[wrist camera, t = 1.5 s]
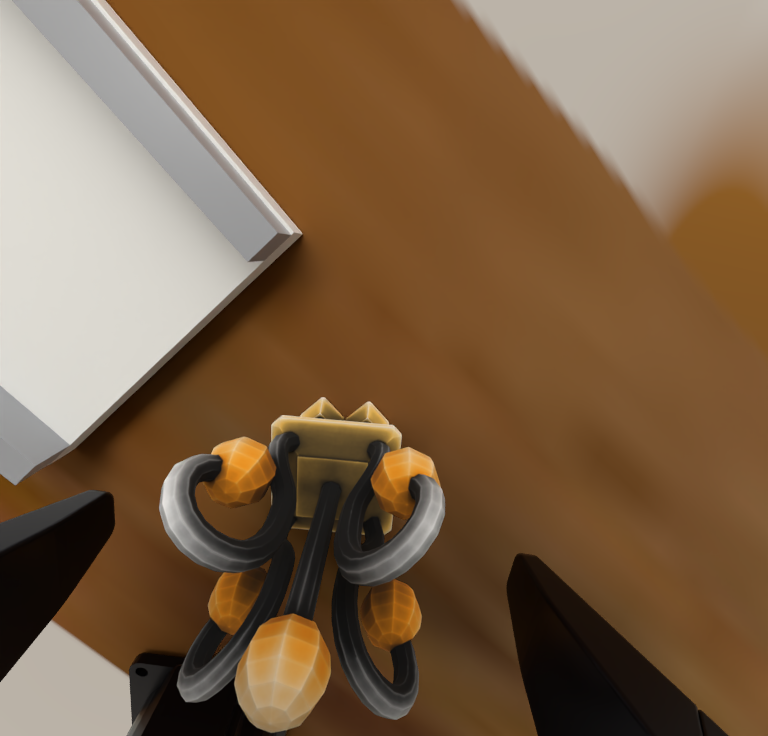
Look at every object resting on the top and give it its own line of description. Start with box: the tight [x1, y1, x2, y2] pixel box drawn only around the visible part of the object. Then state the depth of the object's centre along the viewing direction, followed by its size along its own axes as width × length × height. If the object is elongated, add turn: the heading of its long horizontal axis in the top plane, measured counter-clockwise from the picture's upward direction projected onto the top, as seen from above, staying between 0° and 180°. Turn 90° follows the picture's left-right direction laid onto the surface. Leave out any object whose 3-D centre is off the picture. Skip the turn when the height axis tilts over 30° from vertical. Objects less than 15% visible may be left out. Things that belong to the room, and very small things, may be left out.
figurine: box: [159, 397, 445, 733], centre depth 9 cm, size 5×5×8 cm
